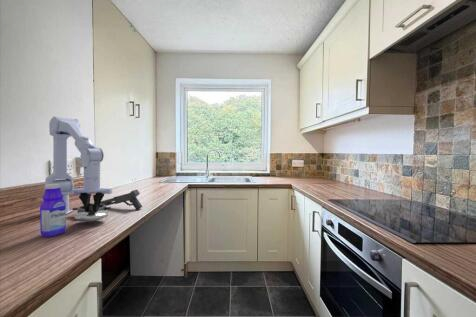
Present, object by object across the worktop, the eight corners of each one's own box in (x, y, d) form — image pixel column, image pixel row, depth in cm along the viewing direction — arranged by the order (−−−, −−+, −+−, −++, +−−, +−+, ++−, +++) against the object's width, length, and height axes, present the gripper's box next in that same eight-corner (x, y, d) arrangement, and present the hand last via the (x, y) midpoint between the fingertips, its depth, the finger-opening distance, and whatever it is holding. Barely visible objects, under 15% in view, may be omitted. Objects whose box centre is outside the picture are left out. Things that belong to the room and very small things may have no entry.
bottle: (50, 238, 80) (49, 185, 79) (36, 237, 81) (35, 185, 81) (69, 231, 87) (69, 183, 87) (56, 230, 88) (56, 182, 88)
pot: (66, 219, 102) (66, 209, 102) (79, 213, 113) (79, 204, 113) (105, 218, 105) (105, 209, 105) (114, 212, 115) (114, 203, 115)
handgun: (139, 209, 120) (134, 190, 120) (98, 219, 124) (93, 200, 124) (144, 207, 123) (139, 188, 124) (104, 217, 128) (99, 199, 128)
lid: (68, 223, 91) (68, 207, 91) (83, 215, 103) (83, 201, 103) (101, 222, 93) (101, 206, 93) (112, 214, 104) (112, 200, 104)
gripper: (66, 179, 92) (66, 214, 93) (107, 179, 94) (107, 213, 95) (76, 177, 99) (76, 210, 100) (114, 177, 101) (113, 209, 102)
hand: (91, 211), depth 98 cm, fingers closed on lid, 3 cm apart
